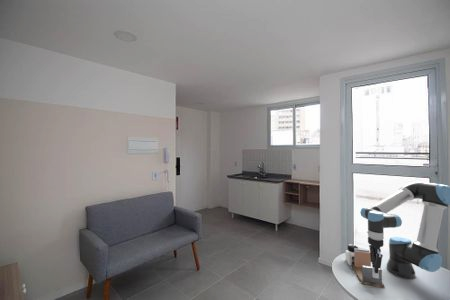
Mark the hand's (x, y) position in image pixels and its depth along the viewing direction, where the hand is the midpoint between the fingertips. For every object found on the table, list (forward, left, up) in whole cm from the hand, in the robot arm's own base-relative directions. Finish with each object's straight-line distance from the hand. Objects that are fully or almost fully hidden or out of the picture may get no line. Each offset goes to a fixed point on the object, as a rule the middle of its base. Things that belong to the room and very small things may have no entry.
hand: (375, 277), depth 120 cm
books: (0, -24, -7) cm, 25 cm away
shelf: (0, -16, -8) cm, 18 cm away
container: (+4, -31, -9) cm, 32 cm away
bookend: (0, -7, -7) cm, 10 cm away
